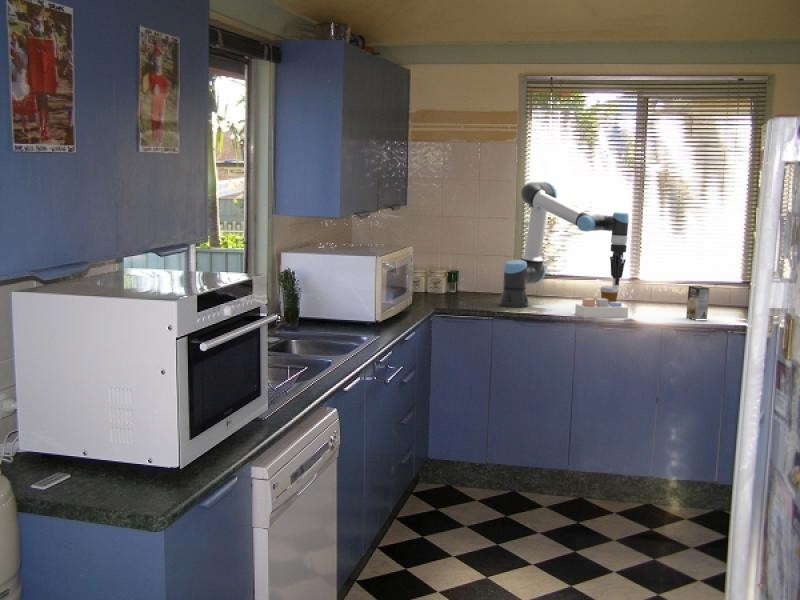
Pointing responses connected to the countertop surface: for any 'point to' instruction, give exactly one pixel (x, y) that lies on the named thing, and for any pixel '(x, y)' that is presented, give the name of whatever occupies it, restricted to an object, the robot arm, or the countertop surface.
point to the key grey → (601, 302)
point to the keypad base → (601, 311)
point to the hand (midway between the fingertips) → (615, 291)
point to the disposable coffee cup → (608, 294)
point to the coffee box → (697, 302)
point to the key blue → (614, 303)
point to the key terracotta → (588, 302)
